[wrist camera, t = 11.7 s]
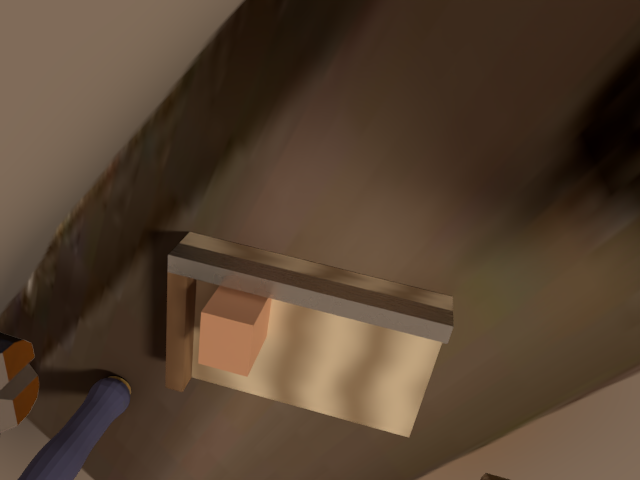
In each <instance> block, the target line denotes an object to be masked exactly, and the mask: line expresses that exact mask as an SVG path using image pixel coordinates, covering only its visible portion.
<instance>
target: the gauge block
mask: <svg viewBox="0 0 640 480" xmlns="http://www.w3.org/2000/svg"><path fill="white" fill-rule="evenodd" d="M271 301H272V299H271V298H267V297H263V296H259V295H255V294H251V293H247V292H244V291H240V290H236V289H232V288H228V287H224V286H219V287H218V289H217V290H216V291H215V293H214V294H213V296H212V297H211V299H210V300H209V301H208V303H207V304H206V306H205V307H204V308H203V310H202V311H201V322H200V340H199V358H198V364H202V365H206V366H209V367H213V368H217V369H220V370H224V371H228V372H231V373H235V374H239V375H242V376H246V377H248V375H249V373H250V371H251V368H252V366H253V364H254V362H255V360H256V358H257V356H258V354H259V352H260V350H261V348H262V346H263V343H264V341H265V339H266V337H267V330H268V323H269V316H270V308H271Z"/></svg>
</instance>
